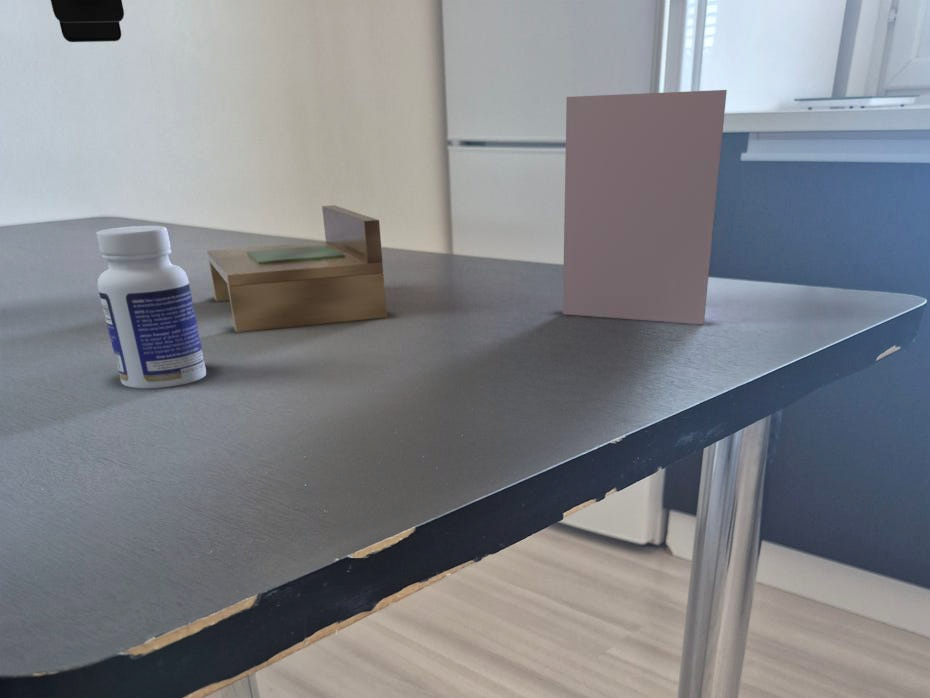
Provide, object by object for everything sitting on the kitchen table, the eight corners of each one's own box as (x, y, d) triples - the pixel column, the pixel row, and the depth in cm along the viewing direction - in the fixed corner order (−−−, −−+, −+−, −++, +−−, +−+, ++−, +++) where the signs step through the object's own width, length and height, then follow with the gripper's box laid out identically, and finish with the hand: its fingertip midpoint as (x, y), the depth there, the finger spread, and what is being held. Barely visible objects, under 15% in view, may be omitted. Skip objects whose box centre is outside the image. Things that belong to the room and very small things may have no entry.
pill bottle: (222, 372, 57) (196, 224, 53) (178, 394, 53) (145, 234, 48) (152, 369, 59) (120, 224, 54) (103, 390, 54) (64, 234, 50)
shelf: (237, 336, 67) (219, 230, 63) (215, 302, 80) (200, 213, 76) (387, 320, 71) (379, 220, 67) (343, 291, 84) (334, 205, 80)
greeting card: (712, 326, 65) (737, 89, 57) (630, 338, 62) (644, 91, 55) (625, 303, 74) (636, 95, 66) (549, 313, 71) (551, 97, 64)
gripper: (-77, -363, 44) (28, 48, 52) (-164, -604, 30) (-1, 13, 38) (82, -347, 46) (158, 45, 55) (72, -566, 32) (175, 11, 40)
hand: (92, 32), depth 46 cm, fingers open, 9 cm apart
